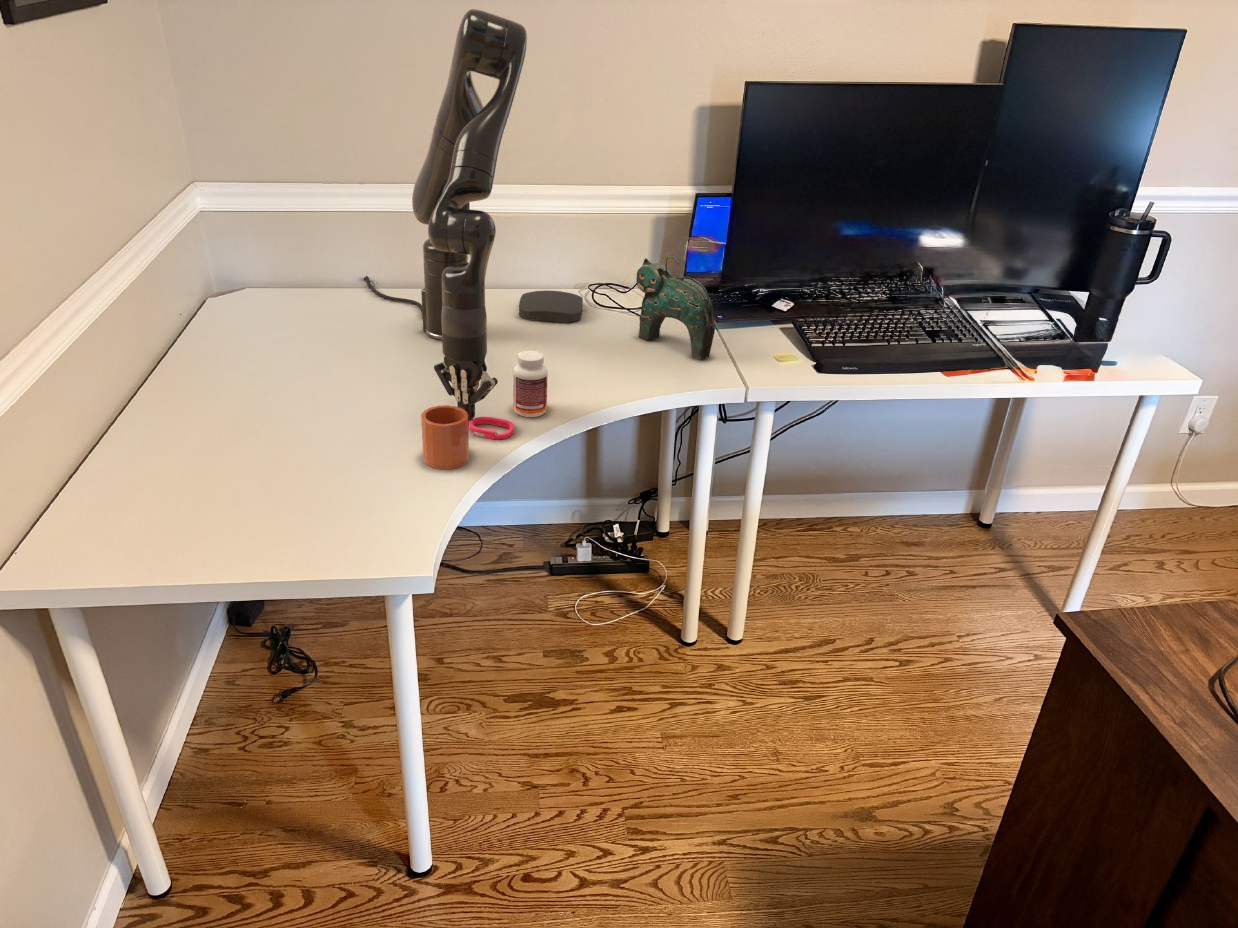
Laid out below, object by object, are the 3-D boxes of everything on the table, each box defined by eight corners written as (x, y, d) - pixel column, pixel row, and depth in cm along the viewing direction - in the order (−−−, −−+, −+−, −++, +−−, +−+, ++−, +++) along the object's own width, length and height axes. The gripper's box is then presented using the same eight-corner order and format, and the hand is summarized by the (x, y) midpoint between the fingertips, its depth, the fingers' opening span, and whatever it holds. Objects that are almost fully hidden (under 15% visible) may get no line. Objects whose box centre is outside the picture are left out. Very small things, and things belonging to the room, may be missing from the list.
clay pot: (414, 460, 149) (411, 416, 145) (444, 443, 155) (442, 401, 151) (448, 474, 146) (446, 430, 142) (478, 456, 151) (477, 413, 147)
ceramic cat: (629, 336, 203) (636, 248, 193) (648, 330, 207) (655, 243, 198) (699, 364, 192) (709, 272, 182) (717, 356, 196) (728, 266, 186)
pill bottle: (552, 414, 167) (554, 358, 161) (523, 421, 164) (523, 364, 158) (536, 401, 171) (537, 346, 166) (507, 407, 168) (507, 352, 163)
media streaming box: (580, 324, 208) (581, 312, 206) (516, 320, 208) (516, 308, 206) (583, 303, 221) (583, 291, 219) (523, 299, 220) (523, 287, 219)
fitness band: (463, 433, 158) (462, 425, 157) (477, 419, 163) (477, 412, 162) (505, 442, 156) (505, 434, 155) (519, 428, 161) (519, 420, 160)
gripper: (509, 331, 153) (508, 422, 161) (449, 313, 159) (452, 402, 167) (480, 344, 147) (481, 438, 156) (419, 324, 153) (424, 416, 162)
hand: (466, 419), depth 162 cm, fingers closed
